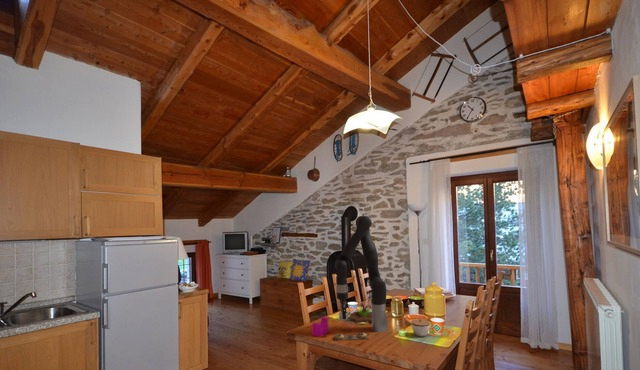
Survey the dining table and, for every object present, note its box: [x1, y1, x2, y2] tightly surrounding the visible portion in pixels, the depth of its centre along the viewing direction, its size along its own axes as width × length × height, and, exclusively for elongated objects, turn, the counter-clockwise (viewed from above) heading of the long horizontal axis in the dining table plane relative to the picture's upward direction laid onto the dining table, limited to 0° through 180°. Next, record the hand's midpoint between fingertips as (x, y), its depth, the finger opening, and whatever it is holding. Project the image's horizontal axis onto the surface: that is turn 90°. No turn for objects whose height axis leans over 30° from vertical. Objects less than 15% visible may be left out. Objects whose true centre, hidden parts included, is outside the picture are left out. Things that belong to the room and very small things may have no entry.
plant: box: [349, 302, 372, 324], centre depth 254 cm, size 20×20×11 cm
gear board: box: [333, 332, 370, 342], centre depth 216 cm, size 21×6×3 cm, turn 95°
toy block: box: [311, 316, 329, 337], centre depth 228 cm, size 15×6×8 cm, turn 153°
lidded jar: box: [411, 318, 430, 337], centre depth 220 cm, size 11×11×9 cm
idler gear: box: [338, 310, 349, 321], centre depth 227 cm, size 6×5×4 cm
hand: (343, 317), depth 227 cm, fingers closed on idler gear, 5 cm apart
